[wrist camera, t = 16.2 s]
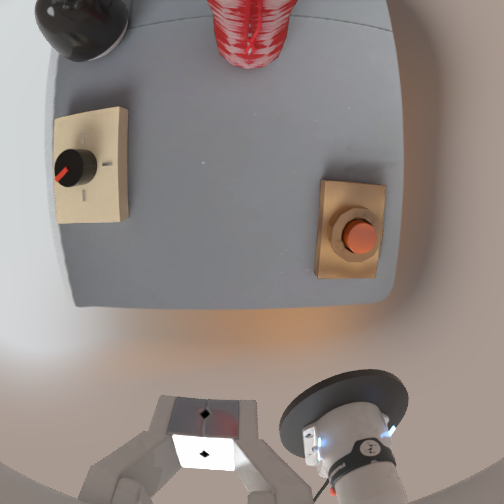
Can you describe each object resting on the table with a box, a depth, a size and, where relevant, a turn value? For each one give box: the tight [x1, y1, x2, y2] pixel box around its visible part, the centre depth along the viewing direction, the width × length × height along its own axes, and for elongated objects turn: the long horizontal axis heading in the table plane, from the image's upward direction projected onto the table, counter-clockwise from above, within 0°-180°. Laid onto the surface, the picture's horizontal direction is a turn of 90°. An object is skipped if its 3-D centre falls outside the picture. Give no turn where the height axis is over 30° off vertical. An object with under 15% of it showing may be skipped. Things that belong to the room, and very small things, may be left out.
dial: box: [54, 149, 97, 187], centre depth 29 cm, size 4×4×4 cm
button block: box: [314, 180, 386, 279], centre depth 35 cm, size 12×8×4 cm, turn 179°
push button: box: [343, 220, 377, 254], centre depth 32 cm, size 4×4×2 cm
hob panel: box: [54, 106, 129, 224], centre depth 32 cm, size 14×10×3 cm
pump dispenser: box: [35, 0, 128, 62], centre depth 21 cm, size 10×10×15 cm
